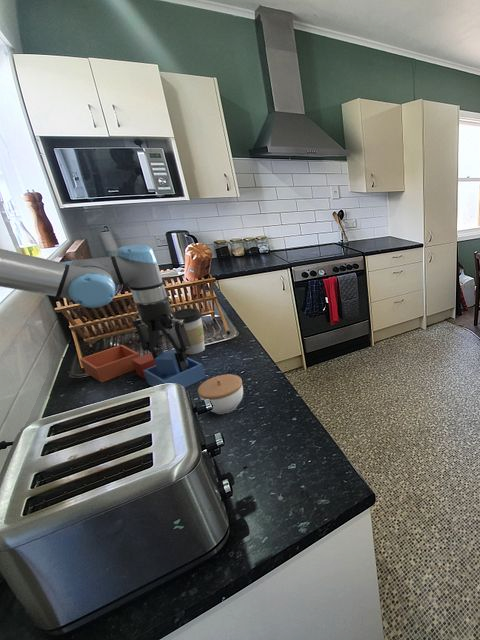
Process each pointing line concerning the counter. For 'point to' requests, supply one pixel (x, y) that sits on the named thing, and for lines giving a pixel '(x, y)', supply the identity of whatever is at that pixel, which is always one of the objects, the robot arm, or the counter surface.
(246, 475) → the counter surface
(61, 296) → the robot arm
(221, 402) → the trinket box
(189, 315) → the coffee cup
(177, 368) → the blue block
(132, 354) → the rust bin
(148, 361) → the rust block
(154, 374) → the blue bin
